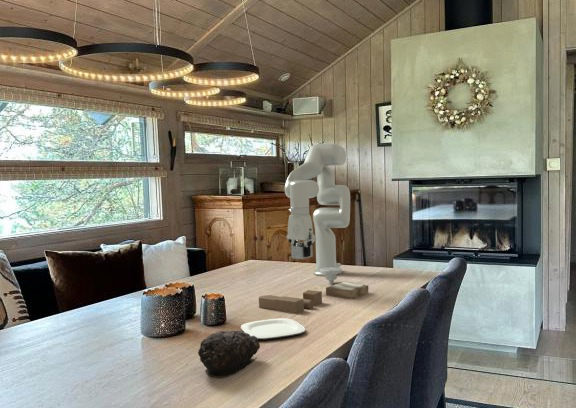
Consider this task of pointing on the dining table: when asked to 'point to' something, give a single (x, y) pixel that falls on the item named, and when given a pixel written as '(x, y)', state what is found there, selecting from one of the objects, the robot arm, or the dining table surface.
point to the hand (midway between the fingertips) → (301, 255)
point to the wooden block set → (291, 302)
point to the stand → (347, 290)
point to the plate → (273, 328)
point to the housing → (299, 251)
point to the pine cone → (227, 352)
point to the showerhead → (331, 273)
